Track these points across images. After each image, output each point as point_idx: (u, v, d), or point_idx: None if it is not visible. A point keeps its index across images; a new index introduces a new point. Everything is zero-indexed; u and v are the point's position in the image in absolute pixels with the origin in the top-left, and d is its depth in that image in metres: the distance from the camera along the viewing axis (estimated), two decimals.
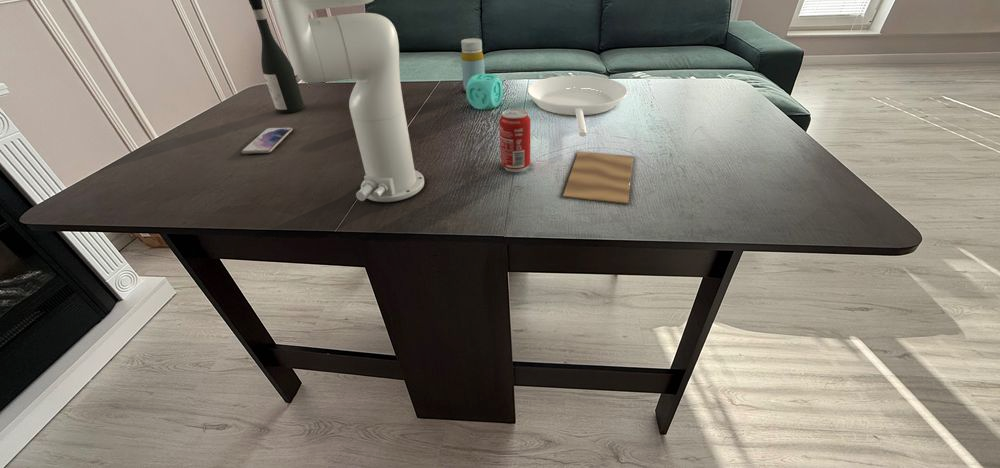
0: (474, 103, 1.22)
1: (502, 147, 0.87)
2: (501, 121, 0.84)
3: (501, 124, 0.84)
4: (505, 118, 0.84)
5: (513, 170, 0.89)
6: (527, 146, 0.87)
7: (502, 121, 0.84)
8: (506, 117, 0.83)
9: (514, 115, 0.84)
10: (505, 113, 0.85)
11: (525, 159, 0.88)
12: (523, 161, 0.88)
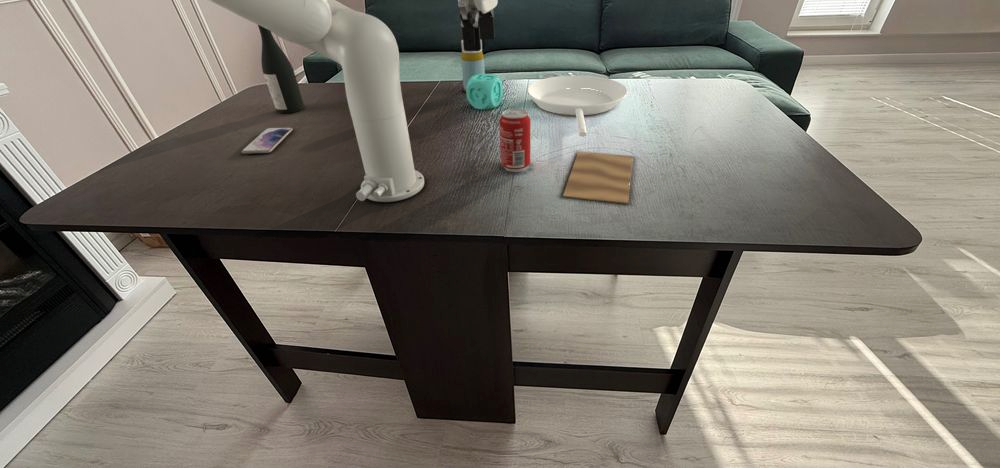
0: (474, 103, 1.22)
1: (502, 147, 0.87)
2: (501, 121, 0.84)
3: (501, 124, 0.84)
4: (505, 118, 0.84)
5: (513, 170, 0.89)
6: (527, 146, 0.87)
7: (502, 121, 0.84)
8: (506, 117, 0.83)
9: (514, 115, 0.84)
10: (505, 113, 0.85)
11: (525, 159, 0.88)
12: (523, 161, 0.88)
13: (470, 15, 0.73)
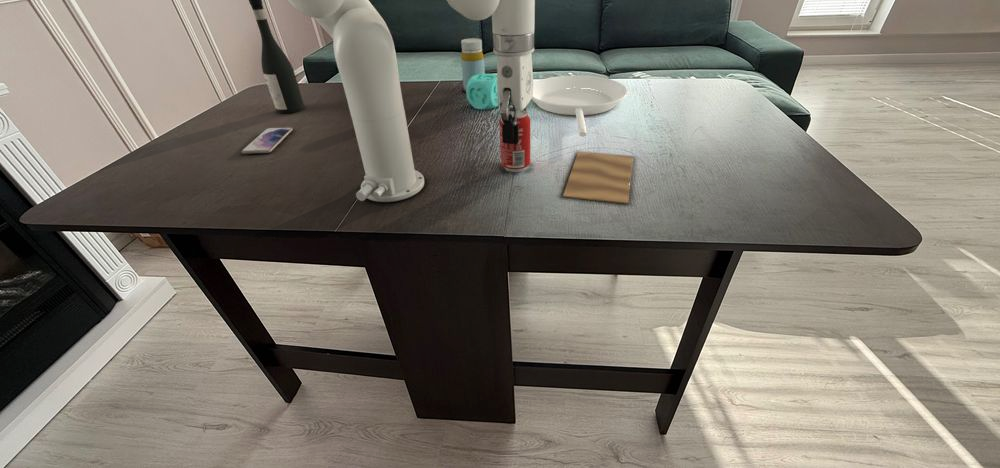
0: (474, 103, 1.22)
1: (502, 147, 0.87)
2: (501, 121, 0.84)
3: (501, 124, 0.84)
4: None
5: (513, 170, 0.89)
6: (527, 146, 0.87)
7: None
8: None
9: None
10: None
11: (525, 159, 0.88)
12: (523, 161, 0.88)
13: (510, 117, 0.79)
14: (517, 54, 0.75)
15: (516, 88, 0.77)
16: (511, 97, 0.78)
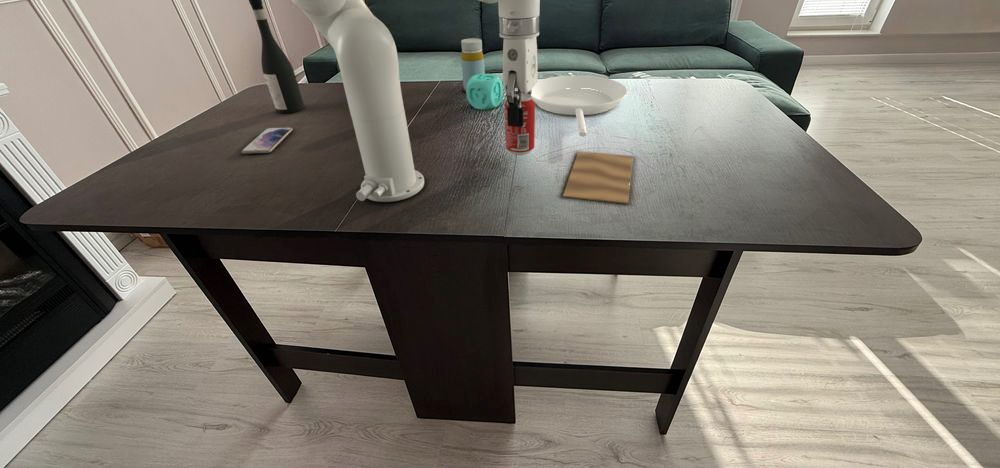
0: (474, 103, 1.22)
1: (507, 130, 0.89)
2: (506, 104, 0.87)
3: (506, 107, 0.87)
4: None
5: (518, 153, 0.91)
6: (531, 129, 0.89)
7: None
8: None
9: None
10: None
11: (529, 143, 0.90)
12: (528, 144, 0.90)
13: (516, 99, 0.81)
14: (522, 37, 0.77)
15: (521, 70, 0.79)
16: (516, 80, 0.80)
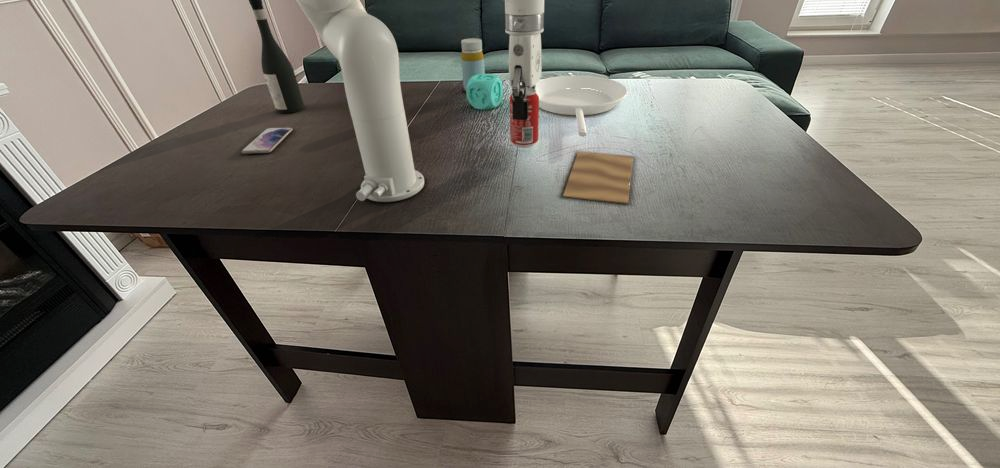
0: (474, 103, 1.22)
1: (512, 124, 0.93)
2: (511, 98, 0.90)
3: (511, 101, 0.90)
4: None
5: (522, 146, 0.95)
6: (535, 122, 0.92)
7: None
8: None
9: None
10: None
11: (533, 135, 0.93)
12: (532, 137, 0.93)
13: (521, 93, 0.85)
14: (528, 33, 0.80)
15: (527, 65, 0.82)
16: (522, 74, 0.83)
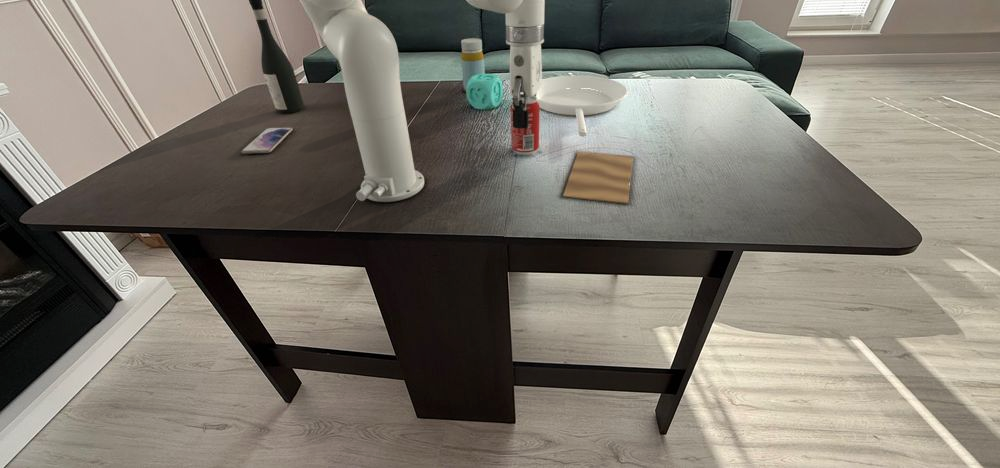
0: (474, 103, 1.22)
1: (513, 131, 0.94)
2: (512, 107, 0.91)
3: (512, 110, 0.91)
4: None
5: (523, 153, 0.96)
6: (536, 130, 0.93)
7: None
8: None
9: None
10: None
11: (534, 143, 0.94)
12: (533, 145, 0.94)
13: (521, 103, 0.85)
14: (528, 44, 0.81)
15: (527, 75, 0.83)
16: (522, 84, 0.84)
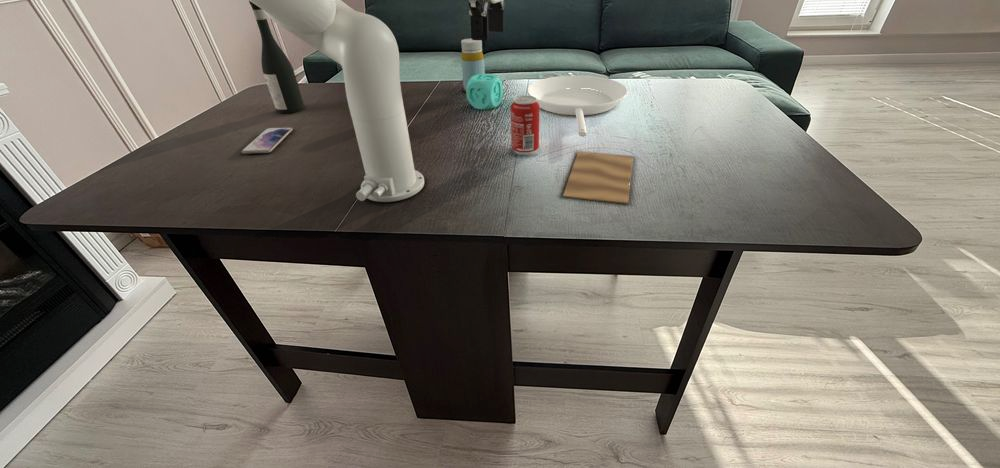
0: (474, 103, 1.22)
1: (513, 131, 0.94)
2: (512, 107, 0.91)
3: (512, 110, 0.91)
4: (517, 104, 0.90)
5: (523, 153, 0.96)
6: (536, 130, 0.93)
7: (513, 107, 0.91)
8: (517, 103, 0.90)
9: (524, 101, 0.90)
10: (516, 99, 0.92)
11: (534, 143, 0.94)
12: (533, 145, 0.94)
13: (478, 4, 0.73)
14: None
15: None
16: None
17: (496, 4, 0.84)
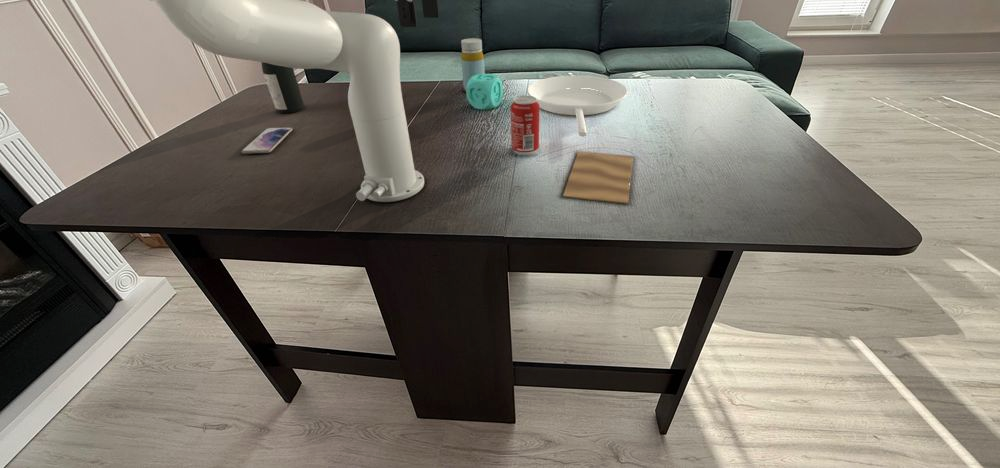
0: (474, 103, 1.22)
1: (513, 131, 0.94)
2: (512, 107, 0.91)
3: (512, 110, 0.91)
4: (517, 104, 0.90)
5: (523, 153, 0.96)
6: (536, 130, 0.93)
7: (513, 107, 0.91)
8: (517, 103, 0.90)
9: (524, 101, 0.90)
10: (516, 99, 0.92)
11: (534, 143, 0.94)
12: (533, 145, 0.94)
13: None
14: None
15: None
16: None
17: None
